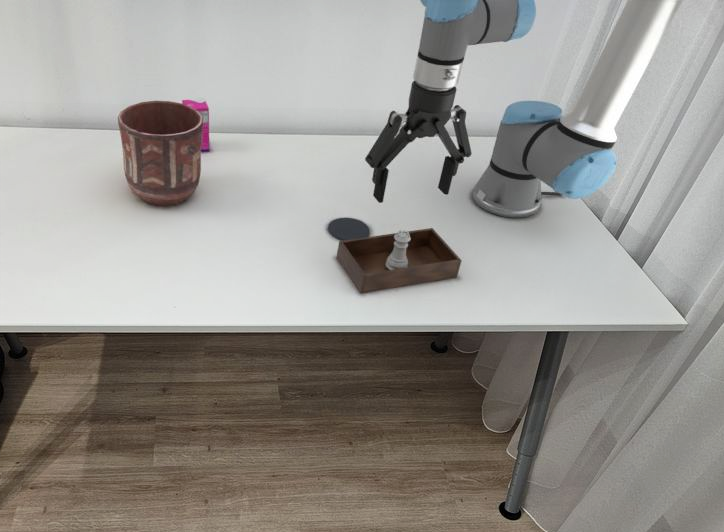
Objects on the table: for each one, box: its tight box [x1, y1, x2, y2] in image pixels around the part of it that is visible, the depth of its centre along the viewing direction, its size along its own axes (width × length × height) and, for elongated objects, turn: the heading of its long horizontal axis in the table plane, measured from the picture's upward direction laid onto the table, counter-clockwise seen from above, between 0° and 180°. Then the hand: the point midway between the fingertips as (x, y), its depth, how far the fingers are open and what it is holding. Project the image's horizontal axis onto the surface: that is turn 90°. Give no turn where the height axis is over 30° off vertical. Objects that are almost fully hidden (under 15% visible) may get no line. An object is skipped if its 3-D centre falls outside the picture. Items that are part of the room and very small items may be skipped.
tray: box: [335, 227, 462, 295], centre depth 146 cm, size 21×12×4 cm, turn 108°
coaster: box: [327, 217, 371, 241], centre depth 157 cm, size 9×9×1 cm
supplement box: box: [181, 97, 210, 153], centre depth 179 cm, size 6×6×12 cm
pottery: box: [117, 100, 203, 207], centre depth 159 cm, size 18×18×18 cm
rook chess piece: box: [386, 229, 411, 270], centre depth 145 cm, size 4×4×8 cm
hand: (410, 195), depth 137 cm, fingers open, 13 cm apart
